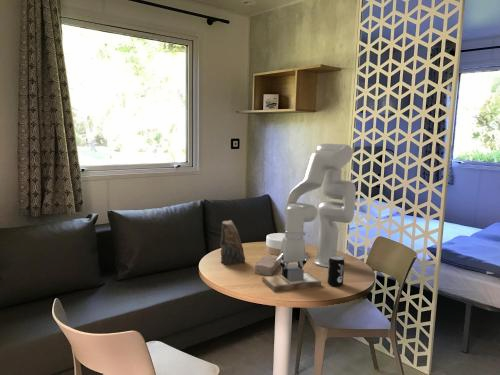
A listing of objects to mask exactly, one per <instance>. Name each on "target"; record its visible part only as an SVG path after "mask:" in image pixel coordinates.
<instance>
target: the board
mask: <svg viewBox="0 0 500 375" xmlns="http://www.w3.org/2000/svg"><path fill="white" fill-rule="evenodd" d="M261 280H262V281H261V282H262V283H263V284H264V285H265V286H267V287H268V288H269V289H270V290H271V291H272V292H273V293H275V292H282V291H291V290H299V289H300V290H301V289H308V288H317V287H321V286H322V281H321V280H320V279H318V278H317V277H315V276H313V275H312V274H310V273H309V272H306V271H304V276H303V282H298V283H289V282H288V281H287V280H285V279H284V278H283V277H281V274H277V275H270V276H269V275H266V276H262V278H261Z"/></svg>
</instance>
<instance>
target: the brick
mask: <svg viewBox="0 0 500 375" xmlns="http://www.w3.org/2000/svg"><path fill="white" fill-rule="evenodd" d="M278 257H279V256H276V255H265V254H264V255H262V256H261V258H260V259H259V260H258V261H257V262H255V264H254V274H257V275H262V276H273V273H274V272H275V271H276V270H277V269H278V267H279V266H280V265H279V264H278V263H277V262H276V259H277V258H278Z"/></svg>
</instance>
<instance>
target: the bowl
mask: <svg viewBox="0 0 500 375" xmlns="http://www.w3.org/2000/svg"><path fill="white" fill-rule="evenodd" d="M283 238H285V232H283V233H282V232H277V233H275V232H274V233H270V234H267V235H266V240H265V242H266V243H265V244H266V246H265V251H266V253H267V254H269V255H270V256H278V257H279V256H280V251H281V244H282V240H283Z"/></svg>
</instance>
